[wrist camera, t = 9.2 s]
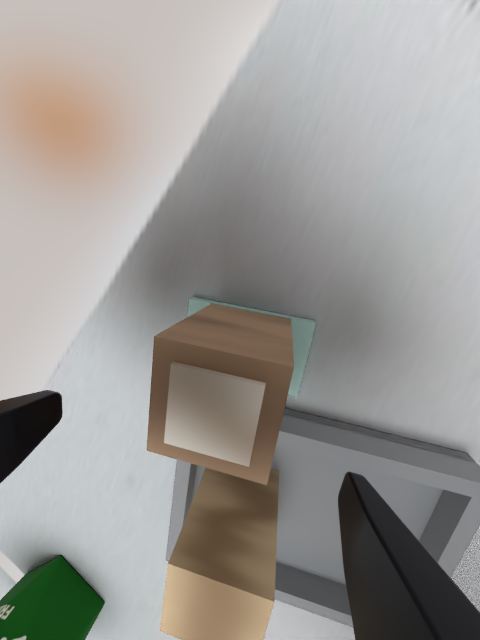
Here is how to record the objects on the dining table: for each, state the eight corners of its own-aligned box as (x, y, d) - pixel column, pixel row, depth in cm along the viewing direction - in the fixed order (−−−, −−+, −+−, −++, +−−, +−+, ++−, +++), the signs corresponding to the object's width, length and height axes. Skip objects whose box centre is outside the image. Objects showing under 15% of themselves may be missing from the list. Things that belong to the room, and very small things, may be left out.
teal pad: (314, 320, 15) (316, 323, 15) (297, 391, 17) (297, 397, 16) (193, 296, 17) (188, 298, 16) (186, 364, 18) (181, 369, 17)
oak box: (279, 471, 17) (274, 601, 11) (266, 523, 19) (254, 668, 12) (212, 451, 18) (167, 563, 11) (203, 503, 19) (160, 630, 13)
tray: (467, 453, 16) (499, 488, 13) (396, 600, 19) (411, 648, 17) (196, 386, 18) (183, 405, 16) (179, 527, 22) (165, 560, 19)
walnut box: (275, 391, 16) (266, 489, 9) (202, 374, 17) (144, 454, 10) (291, 319, 15) (294, 369, 8) (211, 303, 16) (151, 337, 9)
